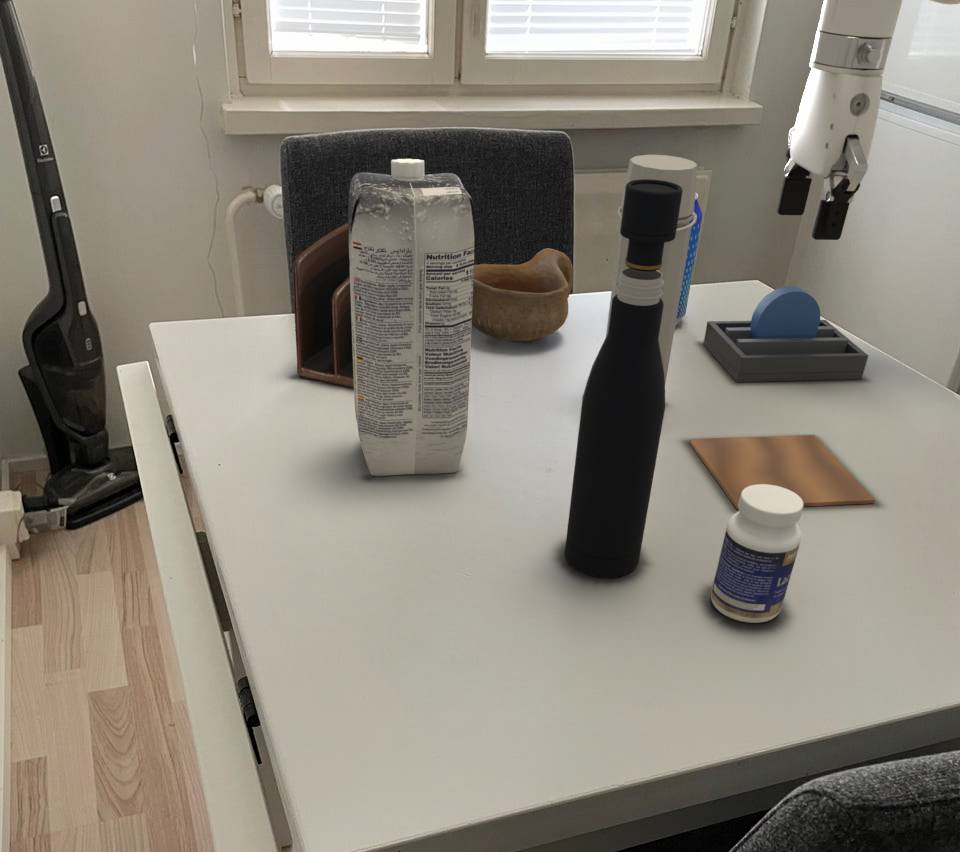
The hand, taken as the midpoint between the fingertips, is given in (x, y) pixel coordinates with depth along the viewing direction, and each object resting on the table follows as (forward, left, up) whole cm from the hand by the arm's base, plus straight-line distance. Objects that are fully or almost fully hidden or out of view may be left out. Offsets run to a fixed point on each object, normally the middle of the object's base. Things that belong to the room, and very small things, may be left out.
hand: (806, 226), depth 113 cm
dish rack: (-1, 0, -16) cm, 16 cm away
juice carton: (+48, +23, -16) cm, 55 cm away
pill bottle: (+23, +50, -16) cm, 57 cm away
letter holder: (+49, -4, -16) cm, 52 cm away
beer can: (+11, -15, -16) cm, 25 cm away
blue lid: (-1, 0, -15) cm, 15 cm away
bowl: (+30, -12, -16) cm, 36 cm away
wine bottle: (+33, +42, -16) cm, 56 cm away
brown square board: (+11, +28, -16) cm, 34 cm away
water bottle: (+22, +12, -16) cm, 30 cm away
